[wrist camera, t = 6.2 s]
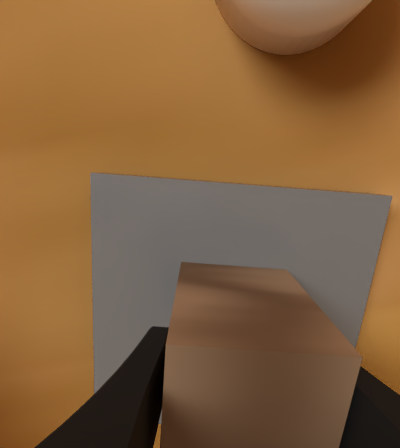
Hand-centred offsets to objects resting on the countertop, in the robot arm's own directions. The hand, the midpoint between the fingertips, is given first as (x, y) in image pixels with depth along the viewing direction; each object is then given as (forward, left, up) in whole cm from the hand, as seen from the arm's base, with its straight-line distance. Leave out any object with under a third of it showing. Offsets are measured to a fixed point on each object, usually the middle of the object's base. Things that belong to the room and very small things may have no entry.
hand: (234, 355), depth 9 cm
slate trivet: (0, 0, -3) cm, 3 cm away
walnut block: (0, 0, -2) cm, 2 cm away
